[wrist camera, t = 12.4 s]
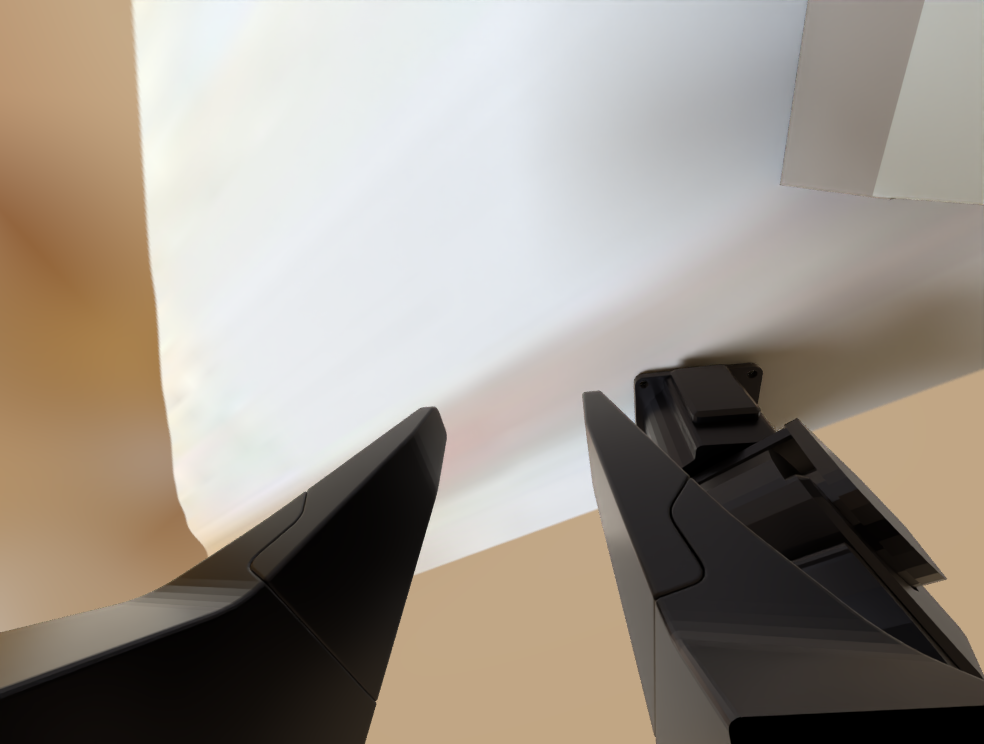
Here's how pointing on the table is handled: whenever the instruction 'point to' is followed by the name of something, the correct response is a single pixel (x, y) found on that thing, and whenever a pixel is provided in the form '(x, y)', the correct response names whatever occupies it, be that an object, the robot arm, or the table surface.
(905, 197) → the rear flap
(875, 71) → the cabinet
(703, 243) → the table surface
